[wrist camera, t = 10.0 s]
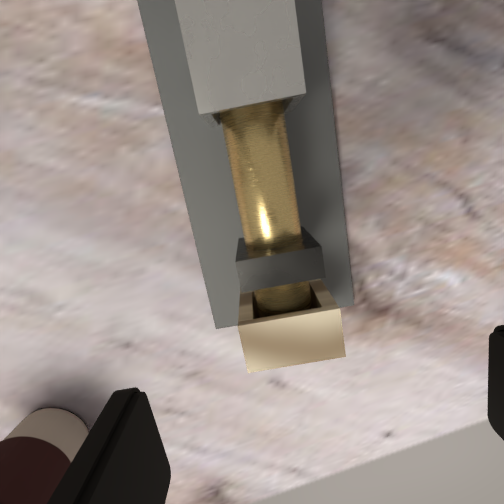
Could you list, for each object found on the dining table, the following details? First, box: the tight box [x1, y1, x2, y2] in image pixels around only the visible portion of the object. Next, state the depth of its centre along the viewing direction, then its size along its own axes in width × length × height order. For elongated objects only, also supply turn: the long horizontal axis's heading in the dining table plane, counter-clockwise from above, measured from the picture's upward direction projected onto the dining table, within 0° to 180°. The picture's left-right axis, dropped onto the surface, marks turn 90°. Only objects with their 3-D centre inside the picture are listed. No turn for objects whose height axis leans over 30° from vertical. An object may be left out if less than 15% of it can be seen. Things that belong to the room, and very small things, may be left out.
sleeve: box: [175, 0, 306, 128], centre depth 20 cm, size 6×6×8 cm
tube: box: [219, 100, 326, 318], centre depth 21 cm, size 18×5×6 cm, turn 11°
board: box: [137, 0, 354, 329], centre depth 26 cm, size 28×13×1 cm, turn 11°
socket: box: [238, 279, 346, 373], centre depth 24 cm, size 4×7×8 cm, turn 101°
